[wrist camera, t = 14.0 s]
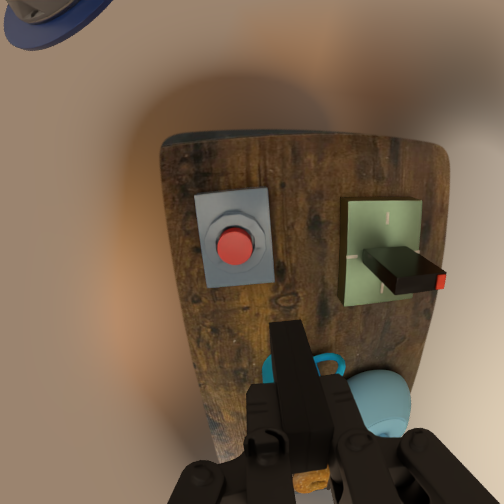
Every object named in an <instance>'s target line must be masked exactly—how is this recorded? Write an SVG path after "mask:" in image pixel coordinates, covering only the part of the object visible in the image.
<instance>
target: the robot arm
mask: <svg viewBox="0 0 504 504" xmlns="http://www.w3.org/2000/svg"><path fill="white" fill-rule="evenodd" d="M6 1H7V3H8V4H9V6H10V7H11V9H12V10H13V12H14V13H15V15H16V16H17V17H18V18H19V19H20V20H21V21H24V22H26V23H28V24H31V25H39V24H44V23H47V22H49V21H52V20H54V19H56V18H57V17H59V16H61V15H62V14H64V13H65V12H67V11H68V10H70V9H71V8H72V7H73V6H75V5H76V4H77V3H78V2H79V1H80V0H6ZM269 328H270V343H271V360H272V371H273V379H274V382H273V383H262V384H251V386H250V388H249V389H248V391H247V393H246V404H247V406H246V409H247V436H246V437H245V439H244V443H243V445H244V452H243V453H242V454H241V455H240V456H239V457H237V458H236V459H233V460H231V461H228V462H224V463H221V464H216V463H214V462H211V461H206V460H200V461H196V462H193V463H191V464H189V465H188V466H186V468H185V469H184V470H183V472H182V473H181V475H180V478H179V480H178V482H177V484H176V486H175V488H174V490H173V493H172V495H171V497H170V499H169V501H168V503H167V504H296V501H295V494H294V487H293V479H292V474H297V473H304V472H311V471H317V470H323V469H327V465H328V466H329V470H330V476H329V479H328V483H327V490H329V489H330V488H331V492H332V497H333V501H334V504H500V503H499V502H498V501H497V500H496V499H495V498H494V497H493V496H492V495H491V494H490V493H489V492H488V490H487V489H486V488H484V486H483V485H482V484H481V483H480V482H479V481H478V480H477V479H476V478H475V477H474V476H473V475H472V474H471V473H470V471H469V470H467V468H466V467H465V466H464V465H463V464H462V463H461V462H460V461H459V460H458V459H457V458H456V457H455V456H454V455H453V454H452V453H451V452H450V450H449V449H448V448H447V447H446V446H445V445H444V444H443V443H442V442H441V441H440V440H439V439H438V438H437V437H436V436H435V435H434V434H433V433H432V432H430V431H429V430H427V429H423V428H414V429H411V430H408V431H407V432H406V433H405V434H404V435H403V436H402V437H380V436H377V435H374V434H373V433H372V432H370V431H369V430H368V429H367V428H366V426H365V424H364V421H363V419H362V416H361V414H360V411H359V409H358V406H357V404H356V401H355V399H354V396H353V394H352V392H351V389H350V387H349V384H348V382H347V380H346V379H345V378H343V377H342V376H341V375H340V374H339V373H338V374H331V375H325V376H319V374H318V371H317V368H316V365H315V361H314V358H313V355H312V352H311V349H310V346H309V343H308V340H307V336H306V333H305V330H304V327H303V324H302V321H301V320H292V321H282V322H271V323H269Z"/></svg>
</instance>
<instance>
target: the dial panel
mask: <svg viewBox="0 0 504 504" xmlns="http://www.w3.org/2000/svg"><path fill="white" fill-rule="evenodd" d="M421 215H422V200H419V199H416V198H413V197H340V254H339V278H338V295H337V296H338V298H339V299H340V301H341V303H342V304H343V306H344V307H345V306H354V305H362V304H371V303H379V302H387V301H394V300H402V299H409V298H412V295H413V293H410V294H403V295H394V294H393V293H392V292H391V291H390V290H389V289H388V288H387V287H386V286H385V285H384V284H383V283H382V282H381V281H380V280H379V279H378V278H377V277H376V276H375V275H374V274H373V273H372V272H371V271H370V270H369V269H368V268H367V267H366V266H365V265H364V264H363V249H368V248H384V247H399V246H407V247H409V248H410V249H412V250H413V251H415V252H417V253H420V250H419V241H420V229H421Z"/></svg>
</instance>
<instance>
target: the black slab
mask: <svg viewBox="0 0 504 504" xmlns="http://www.w3.org/2000/svg"><path fill="white" fill-rule="evenodd" d="M363 264H364V265H365V266H366V267H367V268H368V269H369V270H370V271H371V272H372V273H373V274H374V275H375V276H376V277H377V278H378V279H379V280H380V281H381V282H382V283H383V284H384V285H385V286H386V287H387V288H388V289H389V290H390V291H391V292H392V293H393V294H394V295H403V294H410V293H418V292H425V291H432V290H438V289H444V285H445V280H446V272H445V271H444V270H442V269H441V268H439V267H438V266H436V265H435V264H433V263H432V262H430V261H429V260H427V259H426V258H424V257H423V256H421V255H420V254H418V253H417V252H415V251H413V250H412V249H410V248H409V247H407V246H399V247H384V248H368V249H363Z"/></svg>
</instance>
